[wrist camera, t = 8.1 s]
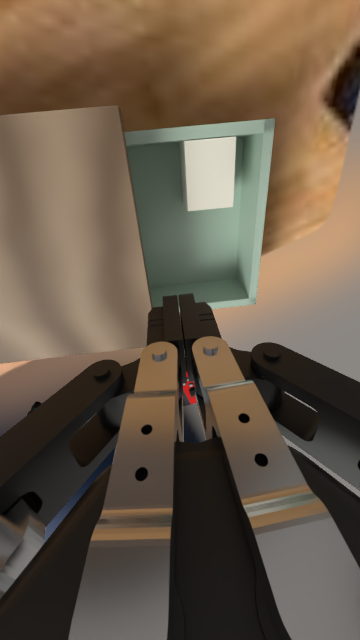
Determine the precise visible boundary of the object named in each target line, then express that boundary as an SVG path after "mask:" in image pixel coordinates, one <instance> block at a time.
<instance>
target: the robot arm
mask: <svg viewBox="0 0 360 640" xmlns="http://www.w3.org/2000/svg"><path fill="white" fill-rule="evenodd" d="M178 297H179V305H178V298H177V295H171V296H163V306H162V307H153V308H152V309H151V311H150V312H149V313H148V327H147V344H146V347H145V349H144V350H143V351H142V353H141V357H140V358H139V359H138V360H136V361H134V362H132V363H129V364H127V365H124V366H120V364H119V363H118V362H116V361H114V360H102V361H99V362H96V363H94V364H92V365H90V366H89V367H88V368H87V369H85V370H84V371H83V372H82V373H80V374H79V375H78V376H76V377H75V378H74V379H73V380H71V381H70V382H69V383H68V384H67V385H65V386H64V387H63V388H61V389H60V390H59V391H58V392H56V393H55V394H54V395H53V396H51V397H50V398H49V399H48V400H46V401H45V402H44V403H42V404H41V405H40V406H39V407H37V408H36V409H35V410H34V411H32V412H31V413H30V414H29V415H27V416H26V417H25V418H24V419H22V420H21V421H20V422H18V423H17V424H16V425H15V426H13V427H12V428H11V429H10V430H8V431H7V432H6V433H5V434H3V435H2V436H1V437H0V640H360V498H359V497H358V496H357V495H356V494H354V493H353V492H351V491H350V490H349V489H348V488H346V487H345V486H344V485H342V484H341V483H340V482H339V481H337V480H336V479H335V478H333V477H332V476H331V475H329V474H328V473H327V472H326V471H324V470H323V469H322V468H320V467H319V466H318V465H317V464H315V463H314V462H313V461H311V460H310V459H309V458H307V457H306V456H305V455H303V454H302V453H300V452H299V451H297V450H296V449H294V448H292V447H290V446H288V445H287V444H286V443H285V441H284V438H283V437H282V435H283V436H285V437H286V438H287V439H288V440H290V441H291V442H293V443H294V444H295V445H297V446H298V447H299V448H301V449H302V450H304V451H305V452H306V453H308V454H309V455H311V456H312V457H313V458H315V459H316V460H318V461H319V462H320V463H322V464H323V465H325V466H326V467H327V468H329V469H331V470H332V471H333V472H334V473H336V474H337V475H339V476H340V477H342V478H343V479H344V480H346V481H347V482H348V483H350V484H351V485H353V486H354V487H356V488H357V489H358V490H360V382H358V381H356V380H354V379H351V378H349V377H347V376H345V375H343V374H341V373H339V372H337V371H335V370H333V369H330V368H328V367H326V366H324V365H322V364H320V363H317V362H316V361H313V360H311V359H309V358H307V357H305V356H303V355H301V354H298V353H296V352H294V351H292V350H290V349H288V348H286V347H284V346H282V345H279V344H276V343H269V342H268V343H261V344H258V345H256V346H255V347H254V348H253V349H252V352H248V351H240V350H236V349H233V348H230V347H229V346H228V344H227V343H226V342H225V341H224V340H223V339H222V338H221V335H220V332H219V329H218V326H217V323H216V321H215V318H214V315H213V312H212V309H211V307H210V306H209V305H208V304H207V303H206V302H198V303H195V299H194V295H193V293H189V294H180V295H178ZM179 308H180V313H179ZM180 318H181V320H180ZM184 351H185V354H184ZM185 358H186V364H185ZM186 365H187V373H188V380H189V382H191V381H194V386H195V397H196V401H197V405H198V409H199V413H200V418H201V421H202V426H203V429H204V434H205V438H206V441H204V442H201V443H197V444H195V443H186V442H184V441H183V392H184V390H183V382H187V375H186ZM285 391H286V392H287V393H289V394H291V395H293V396H294V397H296V398H297V399H299V400H301V401H302V402H304V403H306V404H308V405H309V406H311V407H312V408H314V409H315V410H316V411H317V412H316V411H314V410H312V409H311V408H309V407H307V406H306V405H304V404H302V403H301V402H299V401H297V400H296V399H294V398H292V397H291V396H289V395H287V394H286V393H285ZM88 420H89V421H88ZM87 421H88V422H87ZM86 422H87V423H86ZM85 423H86V424H85ZM84 424H85V425H84ZM83 425H84V426H83ZM82 426H83V427H82ZM115 446H116V450H115V454H114V459H113V463H112V464H111V465H110V466H109V467H108V468H106V469H105V470H104V471H103V472H102V473H101V474H100V475H99V476H98V477H97V478H96V479H95V481H94V482H93V483H92V484H91V485H90V487H89V488H88V489H87V490H86V492H85V493H84V494H83V496H82V497H81V498H80V499H79V501H78V502H77V503H76V504H75V506H74V507H73V508H72V509H71V511H70V512H69V513H68V515H67V516H66V517H65V518H64V519H63V521H62V522H61V523H60V524H59V526H58V527H57V528H56V530H55V531H54V532H53V533H52V535H51V536H50V537H49V538H48V540H47V541H46V542H45V543H44V539H45V530H46V529H45V527H46V526H47V525H48V524H49V523H50V521H51V520H52V519H53V518H54V517H55V516H56V515H57V514H58V512H59V511H60V510H61V509H62V508H63V507H64V505H65V504H66V503H67V502H68V501H69V499H70V498H71V497H72V496H73V495H74V494H75V493H76V491H77V490H78V489H79V488H80V486H82V485H83V483H84V482H85V481H86V480H87V479H88V478H89V476H90V475H91V474H92V473H93V472H94V470H95V469H96V468H97V467H98V466H99V465H100V464H101V462H102V461H103V460H104V459H105V458H106V456H107V455H108V454H109V453H110V452H111V451H112V450H113V449H114V447H115ZM43 543H44V545H43Z"/></svg>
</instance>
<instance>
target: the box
mask: <svg viewBox="0 0 360 640" xmlns="http://www.w3.org/2000/svg"><path fill="white" fill-rule="evenodd" d="M274 127H275V118H273V119H262V120H251V121H240V122H229V123H218V124H207V125H196V126H185V127H174V128H163V129H152V130H141V131H130V132H124V133H125V139H126V145H127V151H128V158H129V164H130V170H131V176H132V182H133V189H134V195H135V201H136V207H137V213H138V220H139V226H140V232H141V238H142V244H143V250H144V257H145V263H146V269H147V275H148V281H149V288H150V294H151V300H152V306H153V307H162V306H163V296H171V295H177V298H178V305H179V297H178V295H180V294H189V293H193V295H194V299H195V303H198V302H206V303H207V304H208V305H209V306H210V307H211V309H216V308H225V307H234V306H243V305H252V304H256V296H257V287H258V277H259V268H260V259H261V249H262V240H263V230H264V221H265V212H266V202H267V193H268V183H269V174H270V165H271V155H272V146H273V136H274ZM235 136H236V152H235V176H234V199H233V207H227V208H217V209H206V210H196V211H187V209H186V207H185V205H184V204H183V200H182V184H181V168H180V151H179V143H181V142H183V141H189V140H200V139H212V138H223V137H235ZM179 313H180V308H179Z"/></svg>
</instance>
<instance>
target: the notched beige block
mask: <svg viewBox="0 0 360 640" xmlns="http://www.w3.org/2000/svg"><path fill="white" fill-rule="evenodd" d="M152 308H153V306H152V300H151V294H150V288H149V281H148V275H147V269H146V263H145V257H144V250H143V244H142V238H141V232H140V226H139V220H138V213H137V207H136V201H135V195H134V189H133V182H132V176H131V170H130V164H129V158H128V151H127V145H126V139H125V133H124V127H123V120H122V114H121V109H120V107H119V106H118V105H111V106H99V107H88V108H76V109H65V110H54V111H42V112H31V113H19V114H8V115H0V364H1V363H9V362H18V361H27V360H36V359H44V358H53V357H61V356H71V355H80V354H88V353H97V352H106V351H115V350H124V349H132V348H141V347H146V344H147V327H148V313H149V312H150V311H151V309H152Z"/></svg>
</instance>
